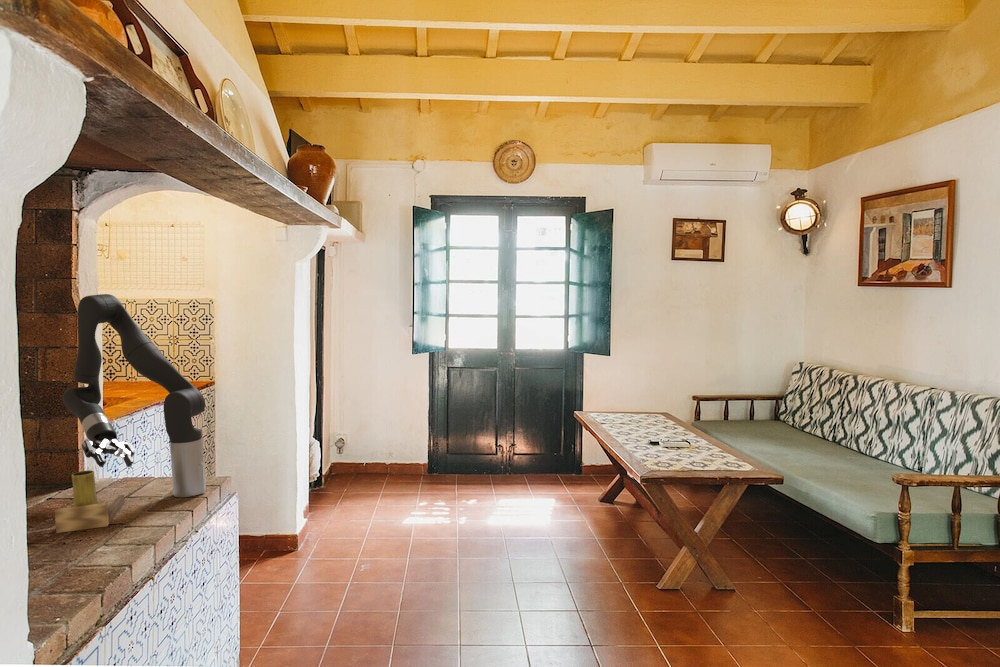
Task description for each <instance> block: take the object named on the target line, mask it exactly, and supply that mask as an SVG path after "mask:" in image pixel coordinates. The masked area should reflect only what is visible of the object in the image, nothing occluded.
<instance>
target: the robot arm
mask: <svg viewBox="0 0 1000 667" xmlns="http://www.w3.org/2000/svg"><path fill="white" fill-rule="evenodd" d="M104 323H107V324H109V325H110V326H111V327H112V328H113V329H114V330H115V331H116V332H117V334H118V335H119V337H120V343H121V344H120V345H121V351H122V355H123V357H124V359H125V360H126V361H127V363H129V365H130V366H131V367H132V368H133V370H134V371H136V373H138V374H139V375H141V376H143V377H144V378H145V379H147V380H150V381H152V382H153V383H155V384H157V385H159V386H161V387H162V388H163V389H164V390H166V391H167V393H168V394H167V395H166V396H165V398H164V401H163V416H164V424H165V431H166V433H167V436H168V439H169V450H170V462H171V463H170V464H171V477H172V493H173V497H175V498H187V497H188V498H189V497H194V496H198V495H202V494H203V495H204V494H205V493H206V490H207V482H206V466H205V465H206V464H205V459H204V448H203V435H202V430H201V429H200V428H197V427H195V426H194V425H193V420H192V418H193V417H196V416H197V417H198V415H200V414H202V413H203V412H204V410H205V408H206V401H205V397H204V395H203V394H202V392H200V390H199V389H198V388H197V387H196V386H194V384H192V383H191V382H190V381H189V380H188V379H187V378H185V376H184V375H183V374H182V373H181V372H179V370H178V369H177V368H176V367H175V366H174V365H173V363H171V362H170V361H169V360H168V358H167V357H166V356H165V355H164V354H163V353H162V351H161V350H160V349H159V348H158V347H157V345H155V343H154V342H153V341H152V340H151V339H150V338H149V337H148V335H146V334H145V332H144V331H143V330H142V329H141V328H140V326H139V325H138V323H136V322H135V321H134V319H133V318H132V316H131V315H130V313H129V312H128V311H127V309H126V307H125V306H124V305H123V303H122V302H121V301H120V300H119V299H118V298H117V297H116V296H115V295H113V294H108V293H105V294H103V293H102V294H101V293H100V294H91V295H86V296H84V297H82V298H81V299H80V300H79V303H78V306H77V355H76V360H75V367H74V371H73V380H74V381H76V382H77V383H80V384H84V385H87V386H77V387H76V386H75V387H69V388H67V389H66V390H65V391H64V392H63V395H62V401H63V405H64V406H65V408H66V409H67V410H68V411H69V412H71V413H72V415H74V417H76V418H78V421H79V422H80V424H81V426H82V430H83V432H84V434H85V436H86V438H84V440H83V442H82V444H81V448H82V451H83V452H84V455H85V457H86V458H87V459H88V458H89V459H90V458H92V459H93V460H94V461H95V463H96V465H98V466H99V468H103V467H104V466H105V464H106V460H105V458H104V456H103V455H108V454H110V455H114V456H116V457H117V458H118V457H120V458H121V459H123V461H124V463H125V465H126V467H127V468H131V467H132V465H133V464H134V459H133V457H134V455H135V454H136V450H135V448H134V447H133V445H132V443H131V442H130V441H129V440H127V439H126V440H124V441H121V440H119V439H118V435H117V432H116V430H115V428H114V426H113V424H112V423H111V421H110V419H109V417H107V416H106V413H105V412H104V410H103V408H102V407H101V405H100V403H101V400H102V393H101V389H100V388H101V387H100V373H101V367H102V361H103V359H102V352H101V350H100V347H99V345H98V343H97V340H96V332H97V328H98V325H99V324H104ZM94 449H95V450H94Z"/></svg>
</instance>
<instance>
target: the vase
mask: <svg viewBox="0 0 1000 667" xmlns="http://www.w3.org/2000/svg"><path fill="white" fill-rule="evenodd" d="M71 480H72V483H71V484H72V492H73V494H72V496H73V506H74V507H76V506H85V505H93V504H98V498H97V489H96V480H95V471H93V470H92V469H91V470H88V469H87V470H81V471H78V472H77V471H76V472H74V473H72V474H71Z"/></svg>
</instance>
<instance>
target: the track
mask: <svg viewBox="0 0 1000 667" xmlns="http://www.w3.org/2000/svg"><path fill="white" fill-rule="evenodd" d="M125 502H126V501H125V494H118V495H117V497H116V498H114V500H113V501H112V503H111V504H110V505H109V504H108V502H101V503H97V504H93V505H85V506H76V507H74V505H72V506H70V507H61V508H56V509H55V510H54V519H55V520H54V521H55V532H56V534H58V533H66V532H67V533H68V532H72V531H82V530H88V529H95V528H103V527H108V526H109V524H110V523H112V520H113V519H114V518H115V516H116V515H117V513H118V512H119V511H120V510H121V509H122V507H123V506H124V504H126V503H125ZM108 505H109V506H108Z"/></svg>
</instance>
